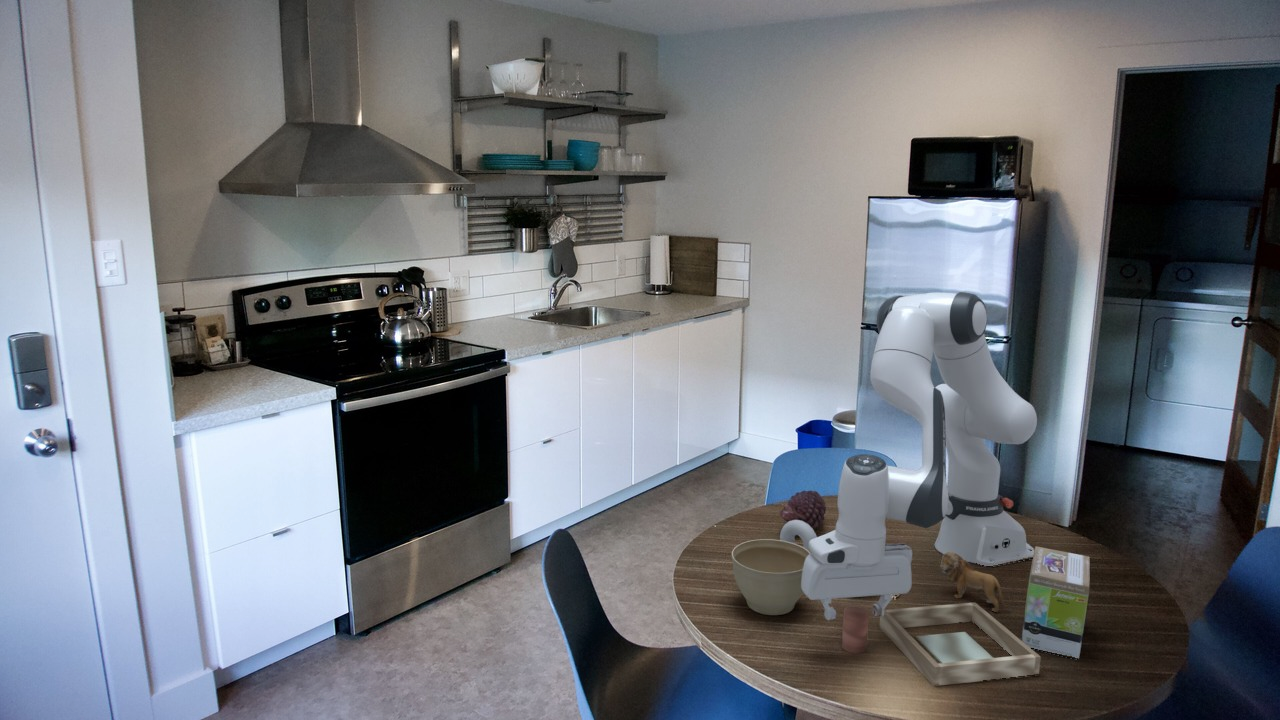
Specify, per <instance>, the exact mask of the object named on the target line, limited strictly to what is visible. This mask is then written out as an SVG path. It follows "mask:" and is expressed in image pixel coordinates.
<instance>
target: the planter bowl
mask: <svg viewBox="0 0 1280 720" xmlns="http://www.w3.org/2000/svg"><path fill="white" fill-rule="evenodd" d="M809 554H811V553H810V552H809V551H808V550H807V549H805V548H804V547H803V546H801V545H799V544H797V543H796V544H794V543H791V542H786V541H782V540H780V539H773V538H767V539H766V538H764V539H763V538H762V539H761V538H760V539H759V538H758V539H753V540H748V541H747V540H746V541H744V542H741V543H740V544H737V545H735V546H734V547H733V549H732V551H731V560H732V568H733V576H734V580H735V582H736V585H737V587H738V589H739V592H740V593H741V594H742V595H743V597H744V598H745V600H746V603H747V606H748V608H750V609H751V611H754V612H756V613H759V614H761V615H767V616H779V615H780V616H781V615H785V614H789V613H791V611H793V610H794V609H795V606H796V603H797V602H798V601H799V600H800V598H801V597H802V596H803V594H805V593H804V592H803V591H802V588H801V579H802V571H803V566H804V562H805V559H806V557H807V556H808V555H809Z"/></svg>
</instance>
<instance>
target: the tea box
mask: <svg viewBox="0 0 1280 720" xmlns="http://www.w3.org/2000/svg"><path fill="white" fill-rule="evenodd" d="M1031 560H1032V561H1031V567H1030V572H1029V579H1028V583H1027V592H1026V598H1025V599H1026V600H1025V609H1024V616H1023V625H1022V633H1021V635H1022V636H1021V641H1022V642H1024V643H1025V644H1026V645H1027V646H1028V647H1030V648H1034V649H1033V650H1035V649H1038V650H1037V651H1039V650H1043V651H1048V652H1052V653H1057V654H1062V655H1067V656H1072V657H1075V658H1078V659H1080V654H1081V648H1082V643H1083V642H1082V640H1083V634H1084V629H1085V628H1084V627H1085V621H1086V614H1087V608H1088V607H1087V606H1088V602H1089V601H1088V600H1089V594H1090V583H1091V581H1090V579H1091V578H1090V575H1091V573H1090V570H1091V569H1090V567H1091V566H1090V562H1091V561H1090V560H1091V558H1090V556H1088V555H1083V554H1078V553H1077V554H1076V553H1072V552H1067V551H1063V550H1056V549H1051V548H1047V547H1041V546H1035V547H1034V555H1033V559H1031ZM1043 651H1042V652H1043Z"/></svg>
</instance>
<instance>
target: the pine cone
mask: <svg viewBox="0 0 1280 720" xmlns="http://www.w3.org/2000/svg"><path fill="white" fill-rule="evenodd" d="M826 510H827V506H826V501H825V500H824V498H822V496H821V494H820V493H819V492H818V491H816V490H802V491H801V492H796V493H795V494H794V495H791V497H790V499H789V500H788V501H787V504H786V503H785V504H784V505H783V508H782V510H781V511H779V515H780V517H781V518H782V519H784V521H785V522H786V523H788V522H789V521H792V520H800V521H803V522H805V523H807V524H808V525H809V526H810V527H811V528H812V529H813V530H814V531H815V530H816V528H817V527H820V526H821V525H822V521H824V520H825V515H826V512H827V511H826Z"/></svg>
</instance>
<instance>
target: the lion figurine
mask: <svg viewBox="0 0 1280 720" xmlns="http://www.w3.org/2000/svg"><path fill="white" fill-rule="evenodd" d="M940 569H941V572H942V573H943V574H945V575H946V576H948V577H949V580H950V581H952V582H953V583H956V589H957V593H955V594H954V598H955V599H958V598H959V599H961V598H962V597H963V595H964V594H965V592H966V588H967V586H968V587H970V588H972V589H975V590H982V589H983V591H984V594H985V595H986V597H987V598H988V599H986V600H985V602H986V603H987V602H988V603H987V604H989V603H992V604H993V606H994V607H992V608H991V612H992V611H994V612H997V613H999V611H1000V605H999V604H1001V605H1002V607H1003V608H1004V609H1005V610H1006V611H1012V609H1011V607H1009V606H1008V605H1006V604H1005V601H1004V599H1003V598H1004V597H1003V592H1002V588H1001V585H1000V583H999V580H998V579H997V578H996V577H995V576H994V575H992V574H990V573H984V572H981V571H977V570H975V569H974V568H973V567H972V565H971V564H970V562H967V561H966V560H964V559H962V557H960V556H959V555H957V554H954V553H953V552H948V553H945V554H942V558H941V561H940ZM997 592H998V597H999V600H997V598H996V593H997ZM959 599H958V600H959ZM999 601H1000V603H999ZM994 612H993V613H994Z"/></svg>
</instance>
